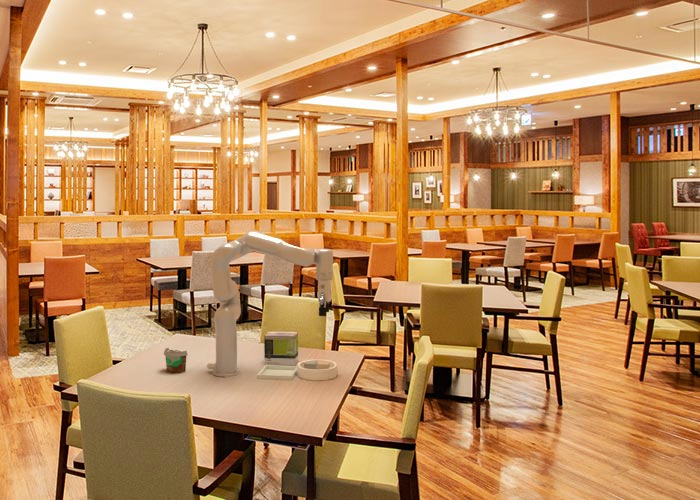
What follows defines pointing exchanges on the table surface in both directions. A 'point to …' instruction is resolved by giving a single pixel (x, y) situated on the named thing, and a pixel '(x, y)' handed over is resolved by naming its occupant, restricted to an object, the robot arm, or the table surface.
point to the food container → (175, 360)
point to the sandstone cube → (323, 365)
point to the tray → (277, 372)
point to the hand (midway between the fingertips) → (324, 314)
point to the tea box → (281, 348)
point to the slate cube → (310, 365)
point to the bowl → (317, 371)
